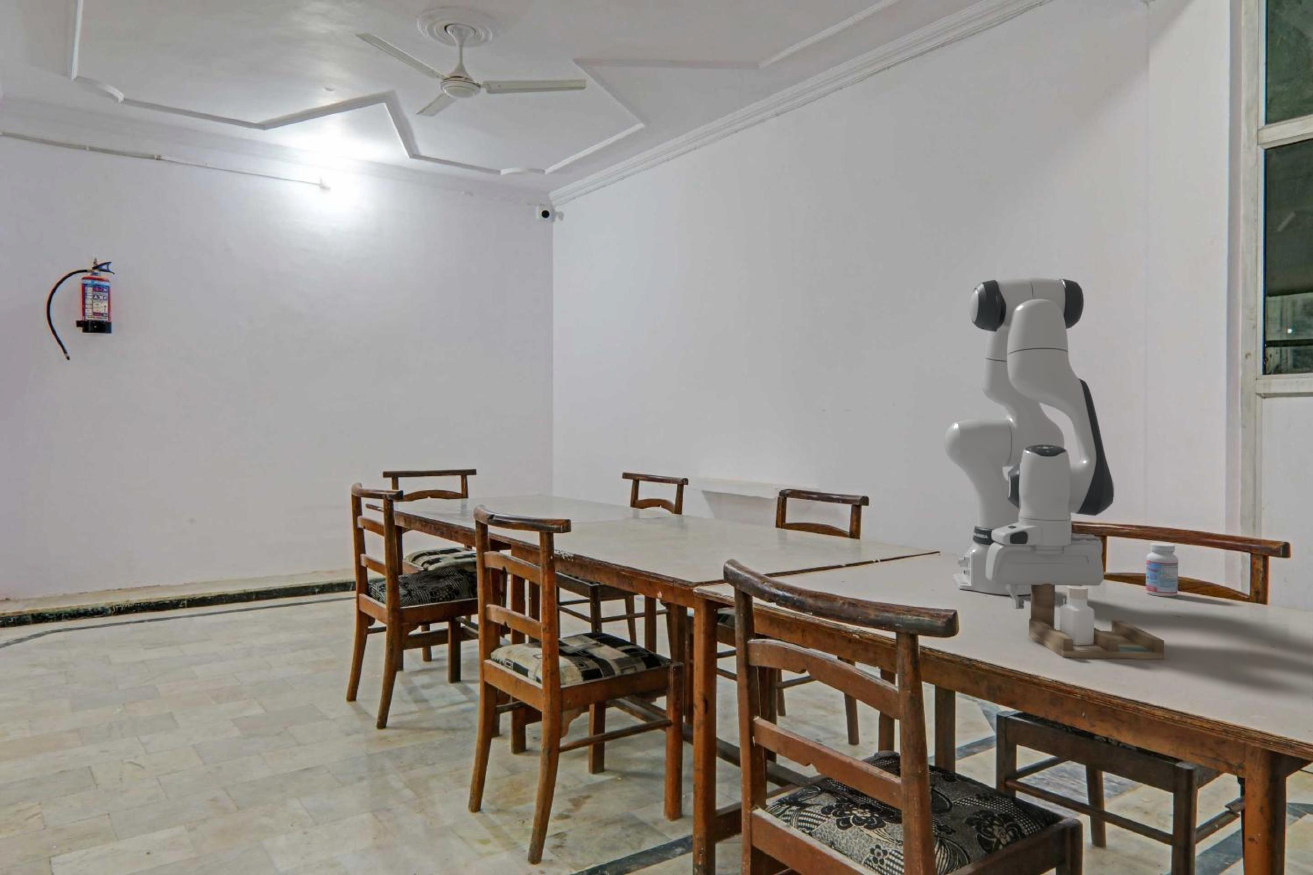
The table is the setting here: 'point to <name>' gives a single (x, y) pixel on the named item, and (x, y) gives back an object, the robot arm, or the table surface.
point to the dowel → (1043, 603)
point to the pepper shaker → (1077, 617)
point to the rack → (1101, 642)
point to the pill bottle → (1162, 570)
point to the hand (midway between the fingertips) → (1043, 608)
